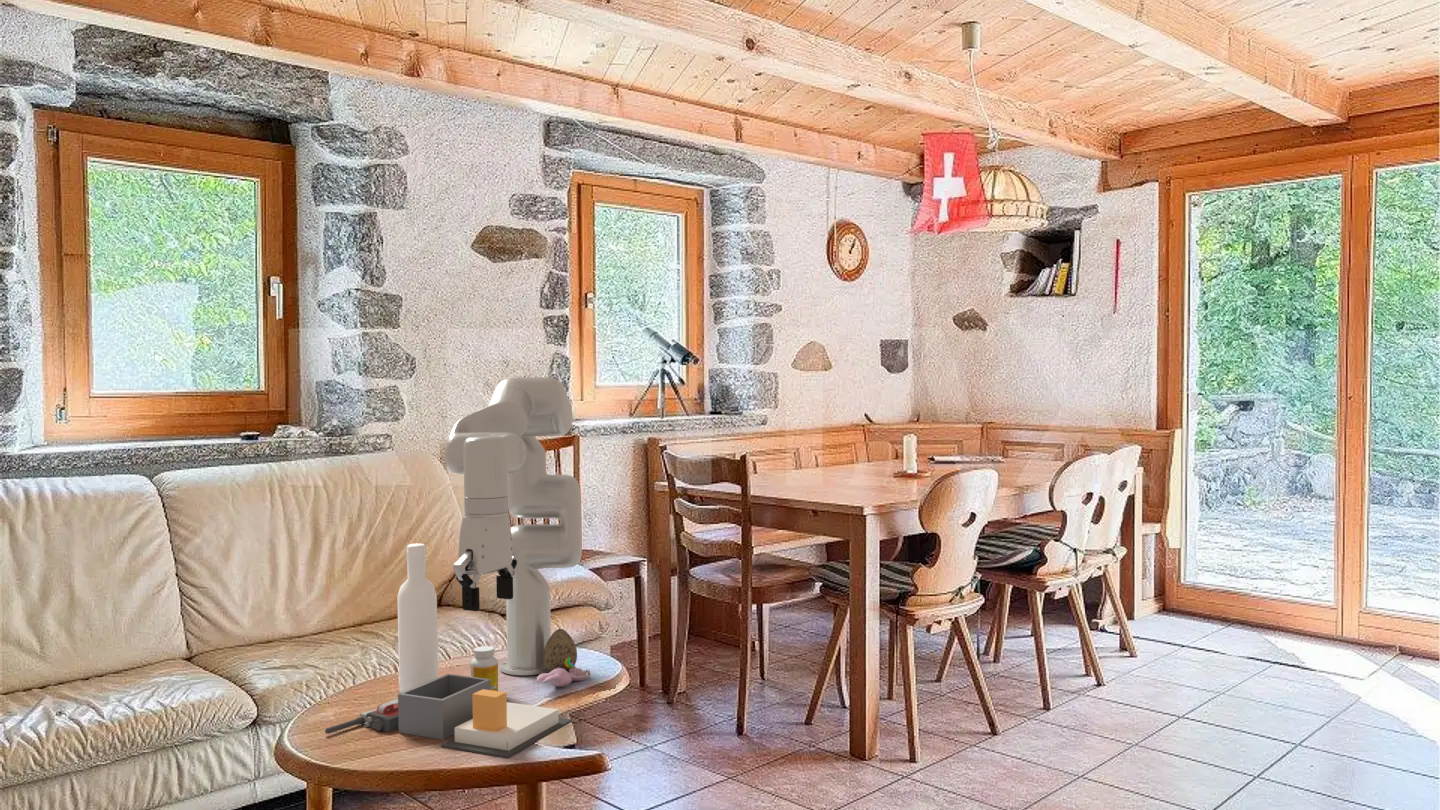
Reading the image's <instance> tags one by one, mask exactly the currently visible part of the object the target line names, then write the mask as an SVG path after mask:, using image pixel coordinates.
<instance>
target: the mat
mask: <svg viewBox="0 0 1440 810" xmlns="http://www.w3.org/2000/svg"><path fill="white" fill-rule="evenodd" d="M558 718H559V723H557V724H556V725H554V726H552V727H550V728H548V729H547V730H545V731H543V732H541V733H539V734H538V735H536V736H534V737H532V738H530V739H529V740H527V741H525V742H523V743H521V744H520V745H518V746H516V747H514V748H513V749H511V750H509V751H508V750H502V749H496V748H490V747H484V746H478V745H472V744H466V743H460V742H455V737H453V738H451V739H450V740H448V741H447V740H446V741H445V742H444V743H442V744H440V747H441V748H446V749H451V750H456V751H457V750H458V751H464V752H471V753H475V754H481V755H487V756H493V757H499V758H506V759H509V758H511V757H512V756H515V755H516V754H517V753H518V754H519V752H521V751H523V750H525V749H526V748H528V747H530V746H533V744H535V743H538V742H540V741H541V740H542V739H545V737H548V736H550V735H552V734H553V733H554V732H557V731H558V730H560V729H562V728H563V727H565V726H567V725H569V724H570V723H573V719H571V718H564V717H563V718H562V717H558Z"/></svg>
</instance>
